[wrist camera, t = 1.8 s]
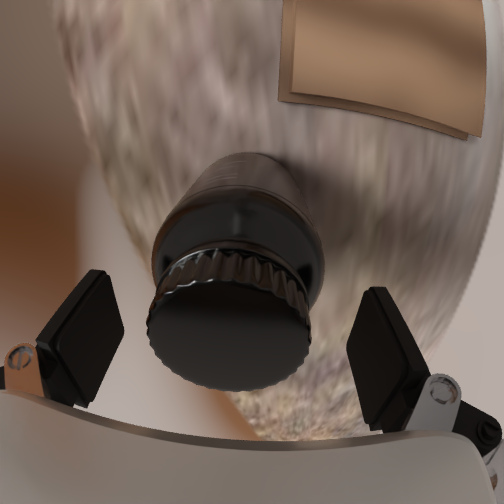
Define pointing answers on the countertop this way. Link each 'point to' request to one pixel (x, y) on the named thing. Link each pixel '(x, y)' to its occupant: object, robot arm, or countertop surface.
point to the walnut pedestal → (388, 59)
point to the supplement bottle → (236, 277)
